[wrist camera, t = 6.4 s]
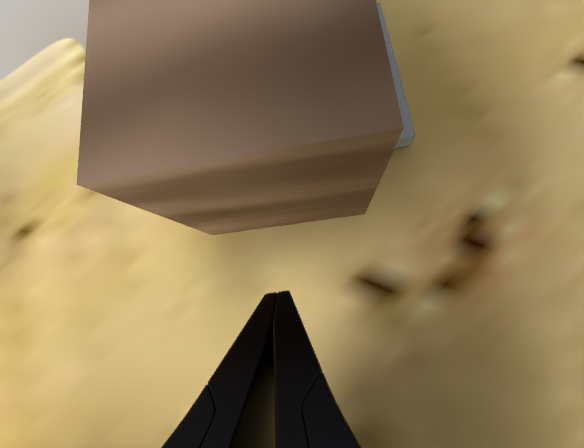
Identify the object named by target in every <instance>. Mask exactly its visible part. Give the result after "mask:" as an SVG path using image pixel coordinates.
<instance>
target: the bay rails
mask: <svg viewBox="0 0 584 448" xmlns="http://www.w3.org/2000/svg"><path fill="white" fill-rule="evenodd" d="M377 8H378V12H379V17H380V22H381V26H382V31H383V35H384V40H385V44H386V49H387V53H388V58H389V63H390V67H391V72H392V76H393V81H394V85H395V90H396V94H397V99H398V104H399V108H400V113H401V117H402V122H403V126H404V128H403V131H402V133H401V135H400V137H399V139H398V142H397V144H396V146H395V148H400V147H405V146H410V144H411V143H412V141H413V139H414V137H415V133H414V129H413V125H412V122H411V118H410V114H409V111H408V107H407V103H406V99H405V96H404V92H403V88H402V84H401V81H400V77H399V73H398V70H397V66H396V62H395V58H394V55H393V51H392V47H391V43H390V40H389V36H388V32H387V29H386V25H385V21H384V17H383V14H382V10H381V6H380V3H378V4H377ZM395 148H394V149H395Z"/></svg>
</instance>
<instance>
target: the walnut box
mask: <svg viewBox="0 0 584 448" xmlns="http://www.w3.org/2000/svg"><path fill="white" fill-rule="evenodd" d="M88 16H89V17H88V30H87V45H86V59H85V73H84V88H83V102H82V117H81V131H80V146H79V160H78V175H77V185H79V186H82V187H84V188H87V189H90V190H92V191H95V192H98V193H101V194H103V195H106V196H109V197H111V198H114V199H117V200H119V201H122V202H125V203H127V204H130V205H133V206H135V207H138V208H141V209H143V210H146V211H149V212H152V213H154V214H157V215H160V216H162V217H165V218H168V219H170V220H173V221H176V222H178V223H181V224H184V225H186V226H189V227H192V228H194V229H197V230H200V231H203V232H205V233H208V234H211V235H216V234H223V233H230V232H237V231H245V230H252V229H259V228H266V227H274V226H281V225H288V224H295V223H302V222H310V221H317V220H324V219H331V218H338V217H346V216H353V215H360V214H365V212H366V210H367V208H368V206H369V203H370V201H371V199H372V197H373V195H374V192H375V190H376V188H377V186H378V183H379V181H380V179H381V177H382V175H383V172H384V170H385V168H386V166H387V164H388V161H389V159H390V157H391V155H392V153H393V150H394V148H395V146H396V144H397V142H398V139H399V137H400V135H401V133H402V131H403V128H404V126H403V122H402V117H401V113H400V108H399V104H398V99H397V94H396V90H395V85H394V81H393V76H392V72H391V67H390V63H389V58H388V53H387V49H386V44H385V40H384V35H383V31H382V26H381V22H380V17H379V12H378V8H377V3H376V0H90V1H89V15H88Z"/></svg>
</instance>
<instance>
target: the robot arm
mask: <svg viewBox="0 0 584 448" xmlns="http://www.w3.org/2000/svg"><path fill="white" fill-rule="evenodd" d="M161 448H361V446H360V444H359V443H358V441H357V439H356V437H355V436H354V434H353V432H352V430H351V429H350V427H349V425H348V423H347V422H346V420H345V418H344V416H343V414H342V412H341V410H340V409H339V407H338V405H337V403H336V401H335V399H334V396H333V394H332V392H331V390H330V388H329V385H328V383H327V381H326V378H325V376H324V374H323V372H322V369H321V366H320V364H319V362H318V359H317V357H316V354H315V352H314V349H313V347H312V345H311V342H310V340H309V337H308V335H307V332H306V330H305V328H304V325H303V323H302V320H301V318H300V315H299V313H298V311H297V308H296V306H295V303H294V301H293V298H292V296H291V294H290V292H289V291H281V292H278V293H276V292H274V293H268V294H265V295H264V297H263V298H262V300H261V302H260V303H259V305H258V306H257V308H256V309H255V311H254V312H253V314H252V315H251V317H250V318H249V320H248V322H247V323H246V325H245V326H244V328H243V329H242V331H241V332H240V334H239V335H238V337H237V338H236V340H235V342H234V343H233V345H232V346H231V348H230V349H229V351H228V352H227V354H226V355H225V357H224V358H223V360H222V361H221V363H220V365H219V366H218V368H217V369H216V371H215V372H214V374H213V375H212V377H211V378H210V380H209V381H208V385H206V386H205V387H204V389H203V391H202V392H201V394H200V395H199V397H198V398H197V400H196V401H195V403H194V404H193V405H192V407H191V408H190V410H189V411H188V413H187V414H186V416H185V417H184V418H183V420H182V421H181V422H180V424H179V425H178V426H177V428H176V429H175V430H174V432H173V433H172V434H171V436H170V437H169V438H168V440H167V441H166V442H165V444H164V445H163V446H162V447H161Z"/></svg>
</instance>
